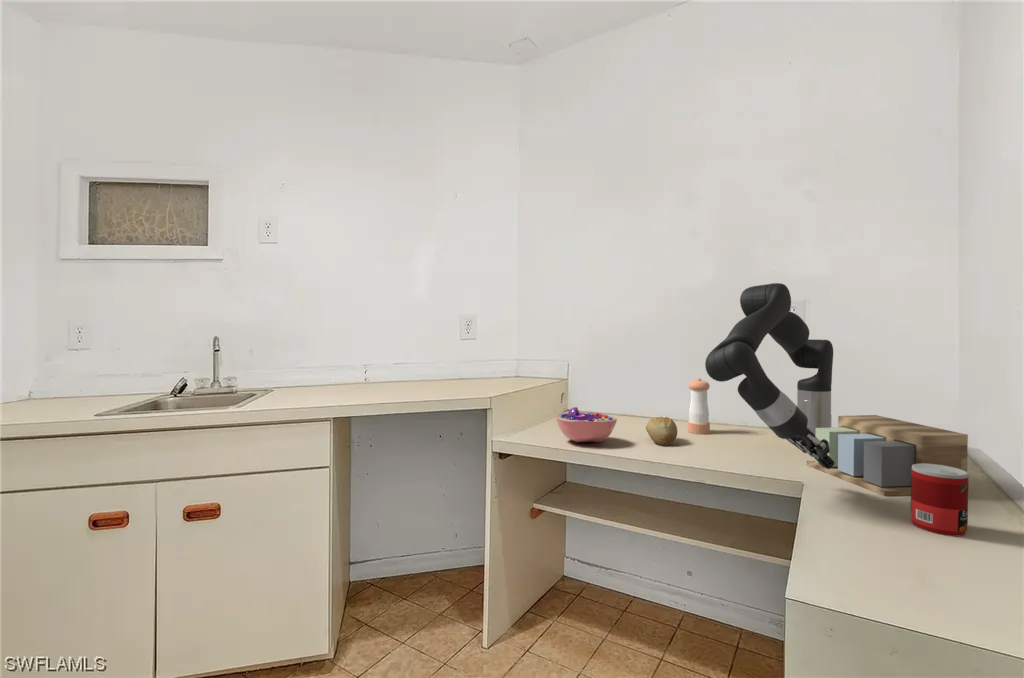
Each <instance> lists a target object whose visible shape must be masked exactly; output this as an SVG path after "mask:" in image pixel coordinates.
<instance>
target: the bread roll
mask: <svg viewBox="0 0 1024 678" xmlns="http://www.w3.org/2000/svg"><path fill="white" fill-rule="evenodd" d="M645 430H646V432H647V434H648V436H649V437H650V439H651V440H652V441H653V442H654V443H655V444H657V445H659V446H664V447H665V446H668V445H671V444H673V443H674V441H676V439H677V436H678V427H677V424H676V422H675V421H674V419H672V418H670V417H667V416H665V417H663V416H658V417H652V418H651V419H649V420H648V422H647V423H646V426H645Z"/></svg>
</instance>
